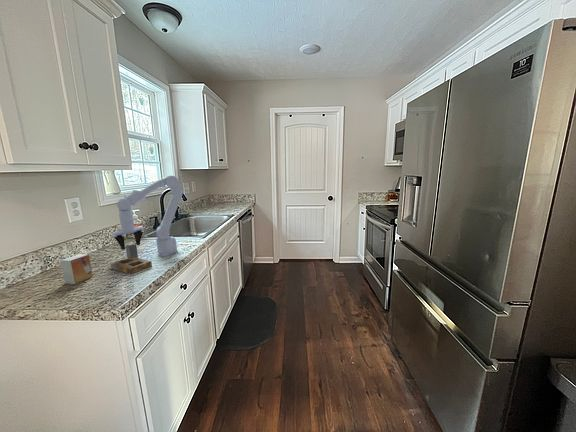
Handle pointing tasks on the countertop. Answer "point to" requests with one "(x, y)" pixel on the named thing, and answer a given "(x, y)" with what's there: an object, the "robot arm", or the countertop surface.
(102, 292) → the countertop surface
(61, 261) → the small box
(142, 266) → the divided box
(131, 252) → the plug
